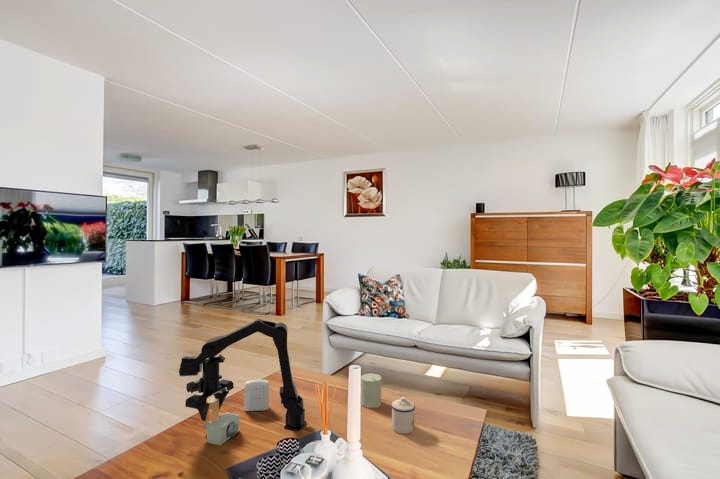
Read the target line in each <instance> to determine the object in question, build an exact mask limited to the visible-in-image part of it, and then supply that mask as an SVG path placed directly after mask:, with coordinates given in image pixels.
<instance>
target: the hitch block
mask: <svg viewBox="0 0 720 479" xmlns="http://www.w3.org/2000/svg"><path fill="white" fill-rule="evenodd" d="M231 423H236V424H237V425H238V430H237V433H238V432H239V431H240V414H237V413H234V412H233V413H232V412H228V411H226V412H224V413H222V414H221V415H219V416H218V417H217V418H215V419H213V420H212V422H211V423H209V424H208V425H207V428H206V443H209V444H213V445H217V446H222V445H223V444H224V443H225V442H227V441H228V440H230V439H231V438H232V437H228V436H227V434H226V431H227V426H228V425H230V424H231Z"/></svg>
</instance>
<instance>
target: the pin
mask: <svg viewBox="0 0 720 479" xmlns="http://www.w3.org/2000/svg"><path fill="white" fill-rule="evenodd" d="M212 421H213V420H212ZM212 421H211V420H209V423H211V422H212ZM209 423H208V424H209ZM208 424H207V425H208ZM207 425H206V424H203V428H205V429H207ZM237 430H238V425H237V424H236V423H231V424H230V425H228V426H227V431H226V434H227V436H228V437H231V438H234V437H235V436H236V434H238V432H237Z"/></svg>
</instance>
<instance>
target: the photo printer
mask: <svg viewBox="0 0 720 479" xmlns="http://www.w3.org/2000/svg"><path fill="white" fill-rule="evenodd" d="M243 392H244V393H243V394H244V396H243V398H244V399H243V411H245V412H249V411H250V412H253V411H257V412H258V411H268V410H269V409H270V383H269V380H265V379H251V380H249V381H246V382H245V385H244V391H243Z"/></svg>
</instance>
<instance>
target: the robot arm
mask: <svg viewBox="0 0 720 479" xmlns="http://www.w3.org/2000/svg"><path fill="white" fill-rule="evenodd" d="M255 333H260V334H262V335H265V336H267V337H270V338H271V339H272V341H273V344H274V345H275V348H276V350H277V355H278V361H279V367H280V372H281V373H280V374H281V379H282V380H281V381H282V386H280V387H279V396H280V404H281V405H283V408H284V409H286V413H285V425H284V429H286V430H287V429H289V430H293V431H298V432H299V431H300V430H301V429H302V428H304V426H305V425H306V424H307V420H305V417H306V412H305V407H304V398H303V397H302V396H300V394H299V392H298V390H297V386H296V384H295V381H294V380H293V374H292V368H291V361H290V355H289V351H288V326H287V325H286V324H285V323H284V322H273V321H269V320H264V319H261V318H257V319H255V320H253V321H252V322H250V323H248V324H245V325H244V326H241V327H240V328H237V329H235V330H234V331H232V332H229V333H227V334H225V335H219V336H215V337H212V338H209V339H208V340H207V341H206V342H205V343H204V345H202V347H201V351H200V353H199V354H198V355H197V356H188V355H187V356H182V357H181V362H180V365H179V369H178V373H179V377H191V376H193V377H194V376H195V377H196V376H198V375H199V373H201V372H202V377H200V378H199V379H198V380H195V381H193V380H192V381H189V382H187V383H186V385H185V386H186V392H187V393H191V394H193V393H196V392H198V393H199V394H193V395H190V396H189V397H187V398H186V399H185V402H184V403H185V404H184V406H185V408H190V409H195V410H197V411H198V414H199V416H200V418H201V422H202V421H205V420H206V417H207V413H208V408H209V403H207V402H208V399H209V398H210V397H212V396H213V397H214V398H217V399H219V411H220V409H221V407H222V405H223V403H224V401H225V399H226V398H227V396H228V395H229V393H230V391H231V390H233V389H234V382H233V381H232V380H229V379H222V378H223V377H222V376H223V375H222V374H220V363H222V364H223V363H224V361H225V360H226V357H224V356H223V355H222V354H220V353H222V352H223V351H224V350H226V349H227V348H228V347H229V346H231V345H234V344H235V343H237V342H239V341H241V340H244V339H245V338H248V337H251V335H254V334H255ZM217 355H218V356H217ZM201 393H202V394H201ZM209 409H210V408H209Z"/></svg>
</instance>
